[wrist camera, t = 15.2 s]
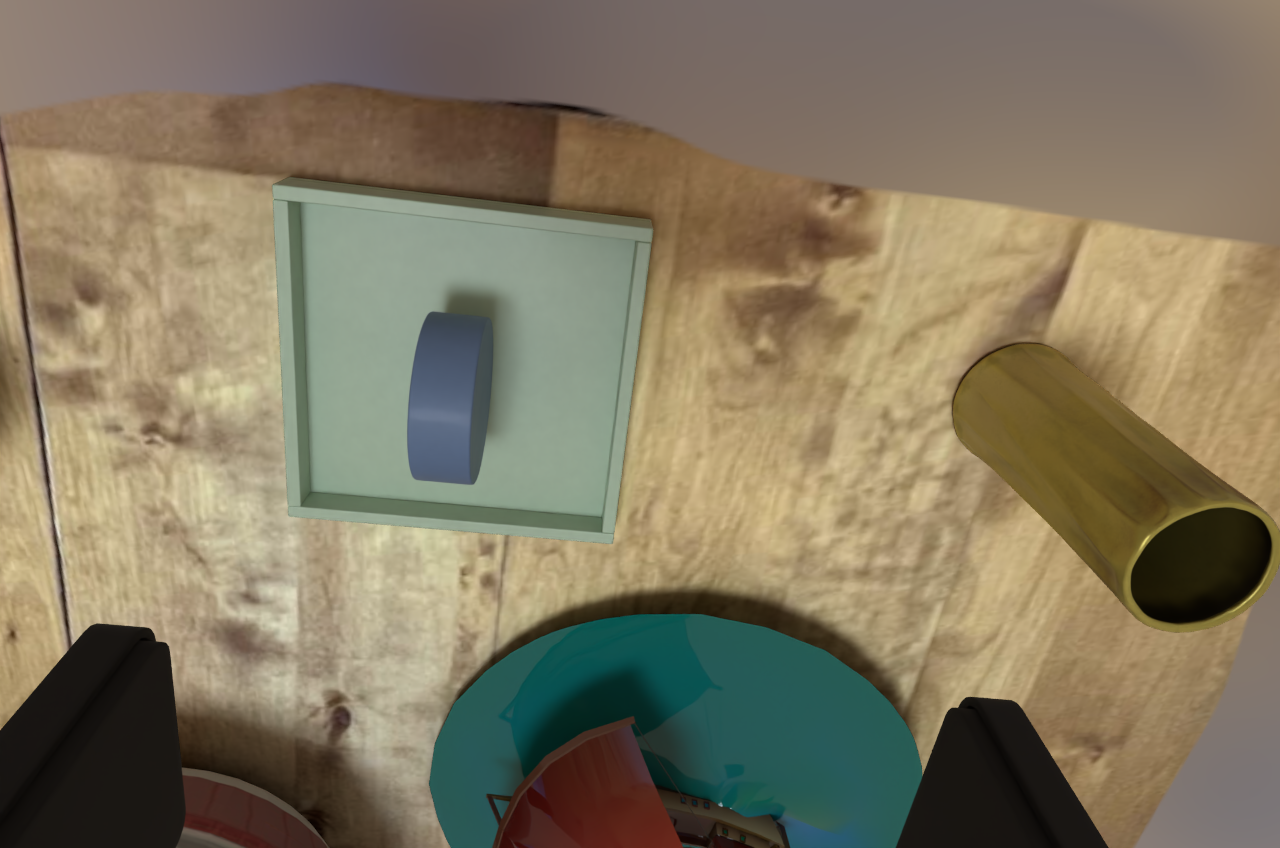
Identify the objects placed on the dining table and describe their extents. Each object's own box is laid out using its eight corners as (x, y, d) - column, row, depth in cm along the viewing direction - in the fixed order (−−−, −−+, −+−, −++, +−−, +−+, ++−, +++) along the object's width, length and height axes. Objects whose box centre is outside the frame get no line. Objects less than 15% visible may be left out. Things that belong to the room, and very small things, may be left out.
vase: (926, 395, 41) (1077, 562, 28) (1040, 315, 39) (1255, 451, 26) (990, 481, 43) (1158, 674, 30) (1100, 409, 41) (1327, 578, 28)
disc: (442, 296, 38) (409, 333, 31) (497, 301, 38) (476, 340, 31) (435, 444, 40) (404, 508, 33) (487, 449, 40) (466, 513, 34)
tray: (288, 176, 36) (271, 184, 34) (651, 219, 37) (653, 228, 35) (301, 496, 42) (288, 517, 40) (612, 523, 43) (612, 544, 41)
